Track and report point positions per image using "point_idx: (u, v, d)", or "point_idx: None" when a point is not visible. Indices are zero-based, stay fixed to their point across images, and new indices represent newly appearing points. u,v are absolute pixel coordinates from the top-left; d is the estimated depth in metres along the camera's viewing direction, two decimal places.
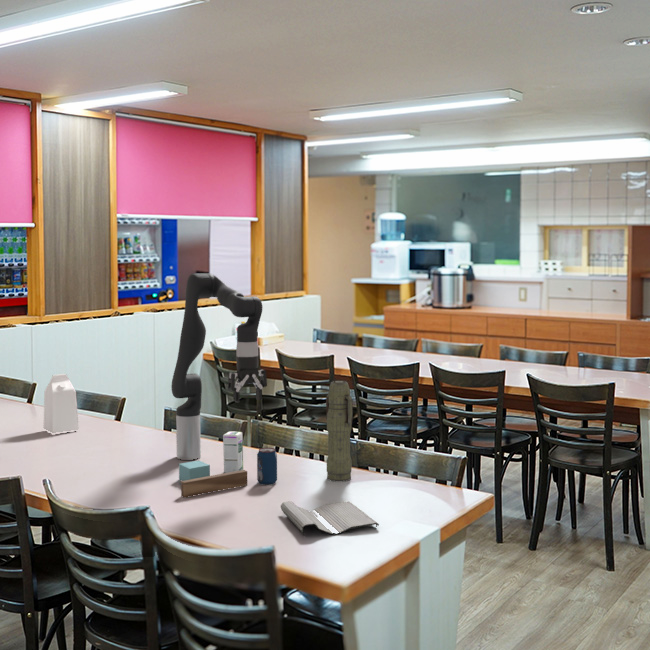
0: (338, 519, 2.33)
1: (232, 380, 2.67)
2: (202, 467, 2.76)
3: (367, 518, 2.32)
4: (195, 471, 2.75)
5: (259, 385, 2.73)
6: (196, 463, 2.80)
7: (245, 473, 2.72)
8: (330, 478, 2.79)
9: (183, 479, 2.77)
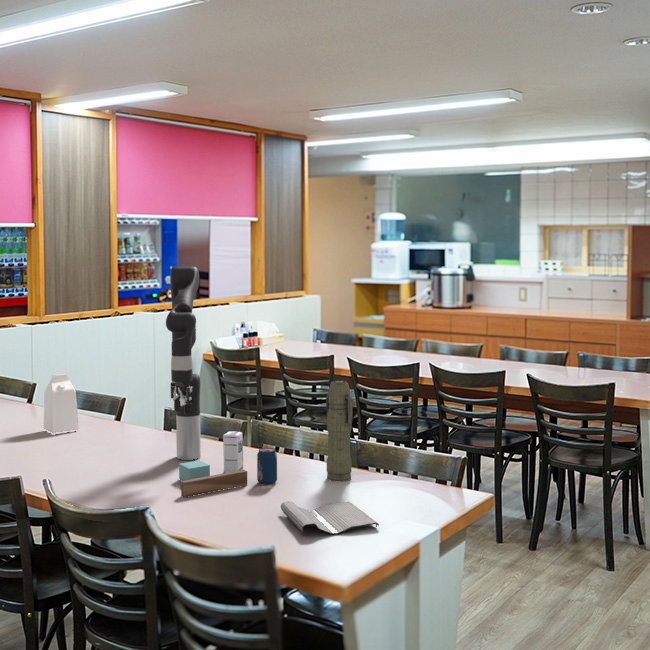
0: (338, 519, 2.33)
1: None
2: (202, 467, 2.76)
3: (367, 518, 2.32)
4: (195, 471, 2.75)
5: None
6: (196, 463, 2.80)
7: (245, 473, 2.72)
8: (330, 478, 2.79)
9: (183, 479, 2.77)
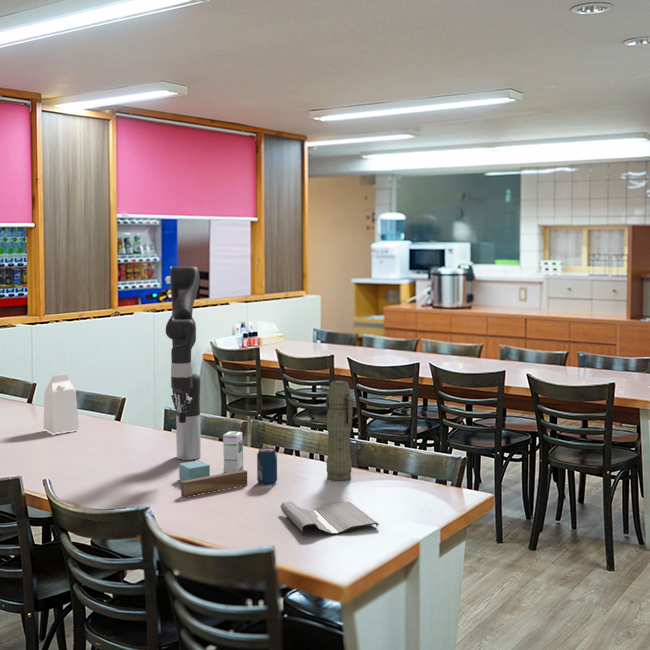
0: (338, 519, 2.33)
1: None
2: (202, 467, 2.76)
3: (367, 518, 2.32)
4: (195, 471, 2.75)
5: None
6: (196, 463, 2.80)
7: (245, 473, 2.72)
8: (330, 478, 2.79)
9: (183, 479, 2.77)
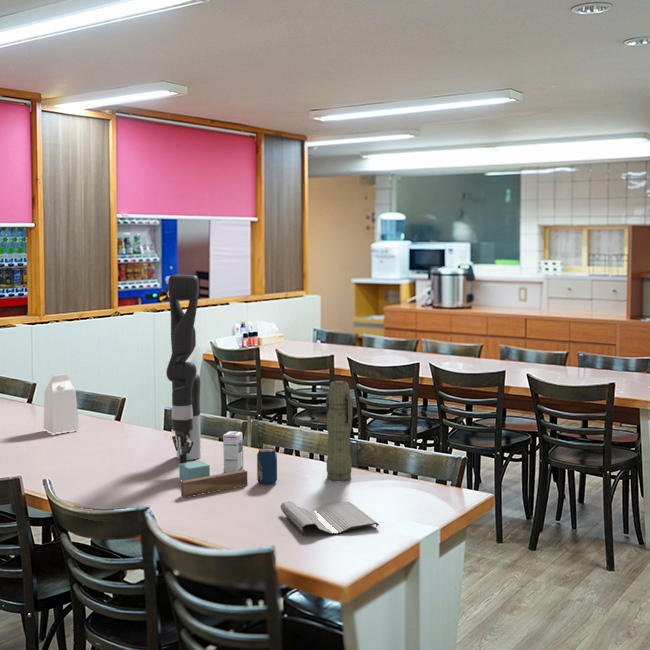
0: (338, 520, 2.33)
1: None
2: (202, 467, 2.76)
3: (367, 518, 2.32)
4: (195, 471, 2.74)
5: None
6: (196, 463, 2.80)
7: (245, 473, 2.72)
8: (330, 478, 2.79)
9: (183, 479, 2.77)
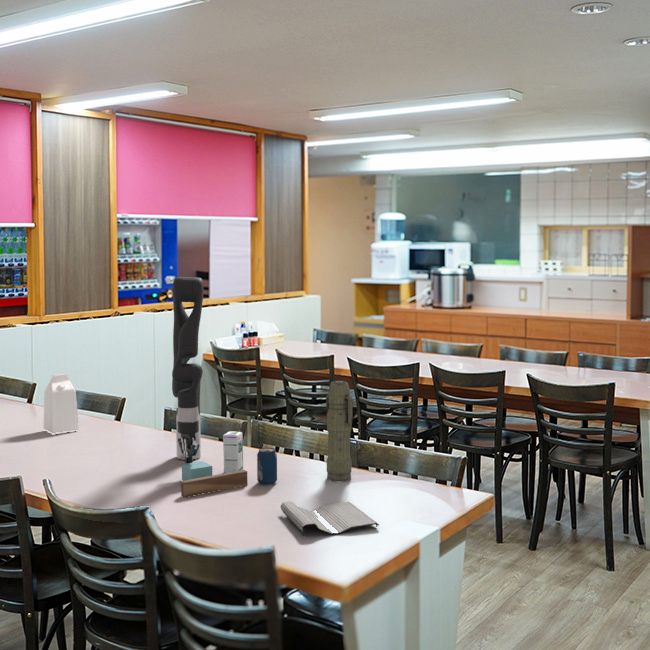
0: (338, 520, 2.33)
1: None
2: (204, 468, 2.75)
3: (367, 518, 2.32)
4: (197, 472, 2.73)
5: None
6: (199, 464, 2.79)
7: (245, 473, 2.72)
8: (330, 478, 2.79)
9: (186, 479, 2.76)
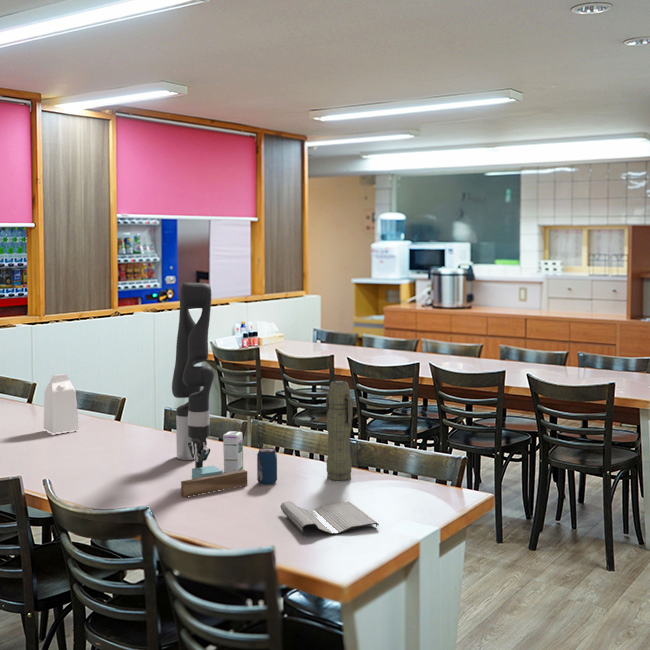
0: (338, 519, 2.33)
1: None
2: (214, 473, 2.68)
3: (367, 518, 2.32)
4: None
5: None
6: (209, 468, 2.72)
7: (245, 473, 2.72)
8: (330, 478, 2.79)
9: None
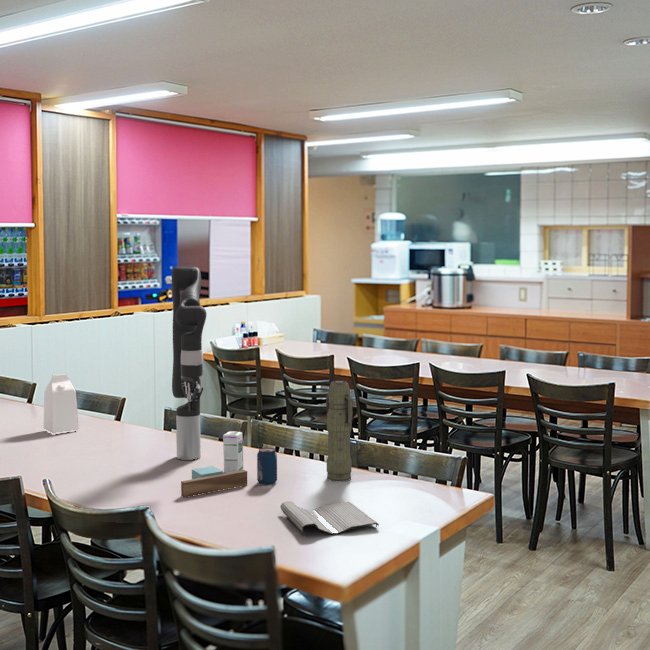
0: (338, 519, 2.33)
1: None
2: (215, 473, 2.68)
3: (367, 518, 2.32)
4: None
5: None
6: (209, 469, 2.72)
7: (245, 473, 2.72)
8: (330, 478, 2.79)
9: None
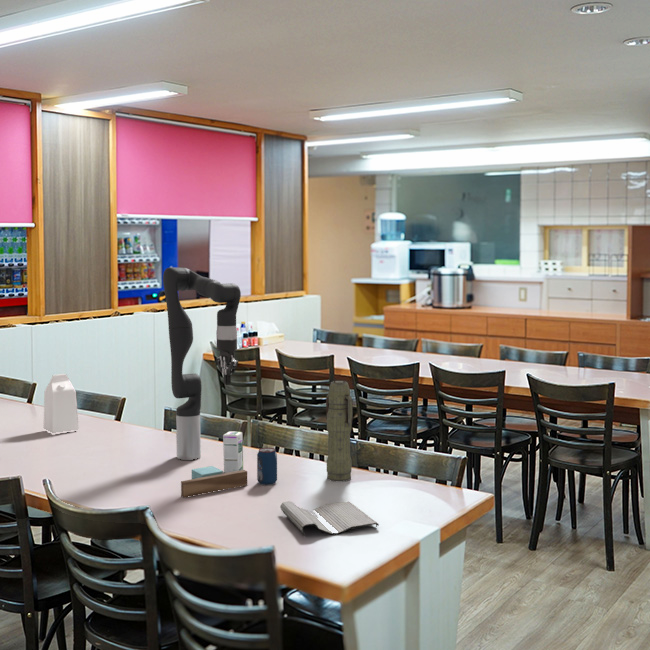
0: (338, 520, 2.33)
1: None
2: (215, 473, 2.68)
3: (367, 518, 2.32)
4: None
5: None
6: (209, 469, 2.72)
7: (245, 473, 2.72)
8: (330, 478, 2.79)
9: None
